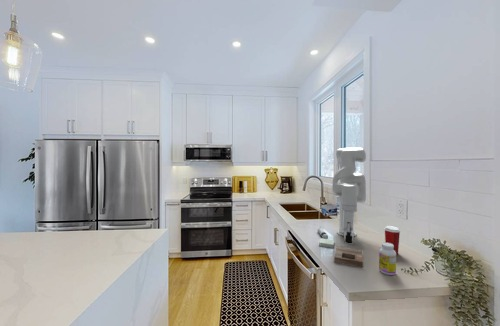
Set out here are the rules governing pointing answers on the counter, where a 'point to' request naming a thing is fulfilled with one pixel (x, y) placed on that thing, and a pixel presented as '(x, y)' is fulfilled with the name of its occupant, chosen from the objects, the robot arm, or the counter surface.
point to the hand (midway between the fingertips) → (348, 241)
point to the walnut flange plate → (348, 256)
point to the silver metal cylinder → (350, 235)
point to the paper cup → (392, 236)
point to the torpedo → (322, 233)
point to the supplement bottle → (387, 259)
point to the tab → (327, 243)
